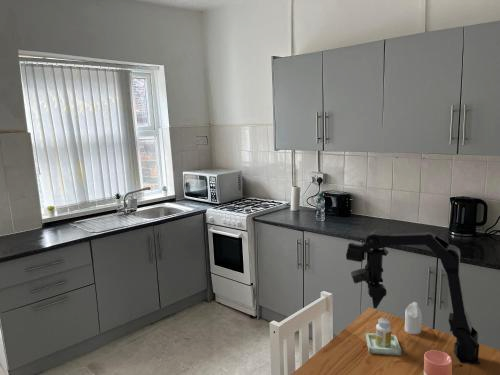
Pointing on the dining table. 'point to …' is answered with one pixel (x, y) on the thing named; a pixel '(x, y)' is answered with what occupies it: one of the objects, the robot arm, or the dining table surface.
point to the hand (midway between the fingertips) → (373, 302)
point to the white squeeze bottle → (413, 319)
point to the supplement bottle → (383, 333)
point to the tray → (392, 350)
